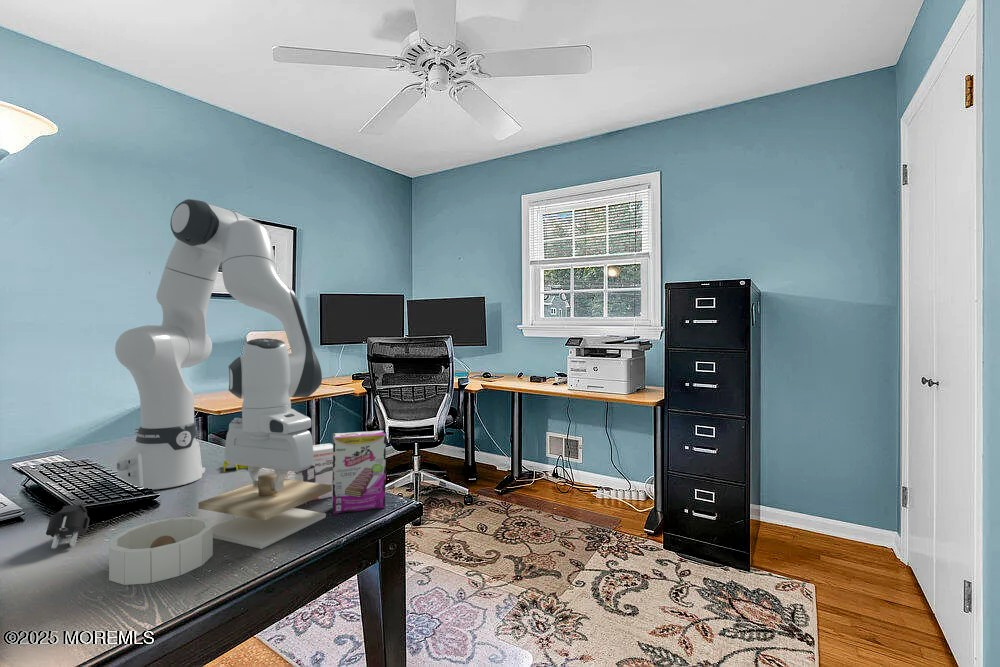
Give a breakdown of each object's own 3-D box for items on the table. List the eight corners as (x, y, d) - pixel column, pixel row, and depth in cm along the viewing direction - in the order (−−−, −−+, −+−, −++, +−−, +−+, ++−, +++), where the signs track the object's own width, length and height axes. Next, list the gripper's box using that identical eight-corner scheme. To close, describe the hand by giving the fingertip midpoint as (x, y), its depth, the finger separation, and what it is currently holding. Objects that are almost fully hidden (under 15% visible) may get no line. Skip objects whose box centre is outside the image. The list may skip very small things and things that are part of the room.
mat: (199, 535, 92) (199, 530, 92) (268, 507, 107) (268, 503, 107) (261, 548, 86) (261, 544, 86) (325, 517, 101) (325, 513, 101)
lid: (198, 508, 92) (198, 483, 92) (270, 482, 108) (270, 461, 108) (265, 520, 86) (264, 493, 86) (331, 490, 102) (331, 468, 102)
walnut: (144, 560, 80) (144, 538, 80) (167, 551, 83) (166, 530, 83) (159, 564, 79) (159, 542, 79) (181, 555, 82) (180, 533, 82)
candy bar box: (332, 515, 102) (332, 437, 102) (332, 507, 107) (331, 433, 107) (386, 508, 106) (386, 433, 106) (384, 501, 111) (383, 429, 111)
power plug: (106, 520, 98) (88, 497, 89) (97, 559, 93) (78, 539, 85) (70, 525, 95) (48, 502, 87) (60, 565, 91) (36, 545, 82)
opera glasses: (223, 479, 128) (223, 460, 128) (223, 474, 133) (223, 456, 133) (263, 474, 133) (263, 456, 133) (262, 469, 138) (262, 452, 138)
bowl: (89, 574, 77) (89, 542, 77) (176, 539, 90) (176, 512, 90) (145, 591, 72) (145, 558, 72) (230, 552, 85) (230, 523, 85)
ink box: (299, 504, 109) (298, 451, 109) (294, 497, 113) (294, 447, 113) (337, 496, 114) (337, 446, 114) (332, 491, 118) (331, 442, 118)
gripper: (215, 419, 98) (216, 488, 98) (293, 425, 90) (294, 499, 90) (242, 414, 104) (243, 479, 104) (318, 419, 96) (319, 489, 96)
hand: (268, 489), depth 97 cm, fingers closed on lid, 3 cm apart
